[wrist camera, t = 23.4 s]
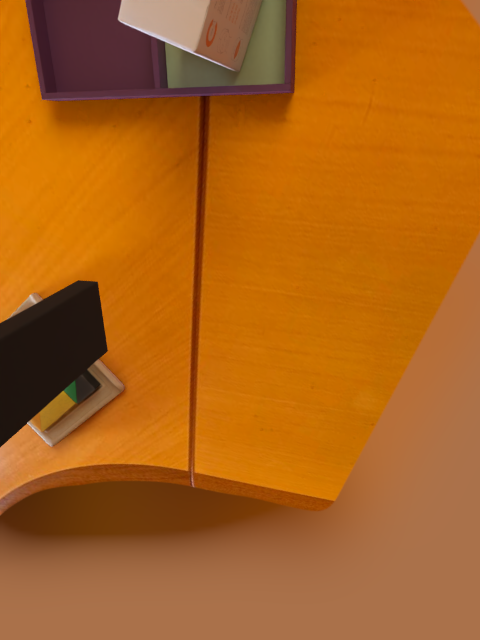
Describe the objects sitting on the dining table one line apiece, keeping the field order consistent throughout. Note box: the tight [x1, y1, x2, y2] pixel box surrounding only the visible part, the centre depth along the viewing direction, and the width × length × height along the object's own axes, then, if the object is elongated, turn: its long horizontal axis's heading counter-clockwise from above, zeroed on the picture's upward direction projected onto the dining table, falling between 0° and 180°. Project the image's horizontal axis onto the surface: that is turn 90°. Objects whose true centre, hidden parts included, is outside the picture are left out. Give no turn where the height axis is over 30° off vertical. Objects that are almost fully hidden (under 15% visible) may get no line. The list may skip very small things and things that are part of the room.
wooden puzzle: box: [8, 293, 125, 446], centre depth 62 cm, size 18×19×4 cm
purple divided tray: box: [25, 0, 297, 101], centre depth 42 cm, size 13×26×3 cm, turn 90°
